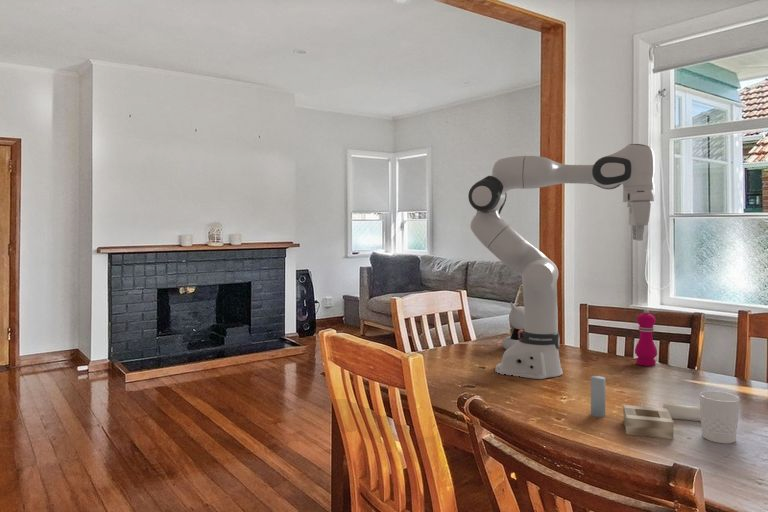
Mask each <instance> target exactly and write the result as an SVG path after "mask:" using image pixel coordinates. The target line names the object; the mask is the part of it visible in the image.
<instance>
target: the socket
mask: <svg viewBox="0 0 768 512" xmlns="http://www.w3.org/2000/svg"><path fill="white" fill-rule="evenodd" d="M622 409H623V410H622V412H623V415H622V417H623V420H622V421H623V424H624V431H625V433H626V435H631V436H639V437H647V438H648V437H650V438H659V439H666V440H667V439H668V440H674V433H675V432H674V428H675V427H674V423H675V422H674V419H672V418H671V416H670V414H669V412H668V410H667V409H665V408H662V407H654V406H653V407H652V406H641V405H629V404H628V405H627V404H623V408H622Z"/></svg>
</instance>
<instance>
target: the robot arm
mask: <svg viewBox="0 0 768 512" xmlns="http://www.w3.org/2000/svg"><path fill="white" fill-rule="evenodd" d="M655 164H656V163H655V154H654V151H653V148H651V147H650V146H649V145H646V144H641V143H629V144H627V145H626V146H625V147H623V148H621V149H620V150H618V151H616V152H614V153H612V154H608V155H606V156H603V157H601V158H599V159H597V160H596V161H595V163H594V164H564V163H561V162H557V161H554V160H552V159H550V158H548V157H544V156H538V155H517V156H507V157H504V158H500V159H498V160H497V161H496V162H495V163H494V165H493V168H492V172H491V175H486V176H485V177H484V178H482V179H480V180H478V181H477V182H475V183H474V184H473V185H472V186H471V187H470V189H469V190H468V202H469V204H470V206H471V207H472V208H473V209H474V210H475V211H476V213H475V215H474V216H473V217H472V220H471V222H470V230H471V232H472V234H473V235H474V236H475V237H476V239H477V240H478V241H479V242H480V243H481V244H482V245H483V246H484V247H485V248H486V249H487V250H488V251H489V252H491V253H492V254H493V256H495V257H496V258H497V259H498V260H499V261H501V262H502V263H503V264H504V265H506V267H508V268H509V269H511V270H512V271H514V272H515V273H516V274H517V275H519V276H520V277H521V278H522V279H521V280H522V281H521V285H522V298H523V307H524V330H522V329H521V330H519V331H518V340H519V341H518V342H517V343H515V344H514V345H512V346H511V347H510V348H508V349H507V350H506V349H505V351H504V352H503V355H502V358H501V362H499V363H498V364H496V365H495V369H494V370H495V373H496V372H497V373H496V374H498V373H500V374H499V375H504V374H506V376H511V375H513V376H512V377H519V376H520V378H527V379H536V380H544V379H547V378H548V379H549V378H556V377H559V376H561V375H563V373H564V371H563V369H562V366H561V361H560V353H559V351H560V350H559V349H560V341H561V339H560V332H559V329H558V328H559V327H558V325H559V319H558V318H559V311H558V310H559V308H558V285H557V284H558V278H559V273H560V272H559V269H558V267H557V265H556V264H555V263H554V262H553V261H552V260H551V259H550V258H548V256H546V255H545V254H544V253H543V252H542V251H540V250H539V249H538V248H536V247H535V246H534V245H532V244H531V243H530V242H529V241H528V240H526V238H525V237H523V236H522V235H521V234H519V232H517V231H516V230H515V229H514V228H513V227H511V225H509V224H508V223H507V222H506V221H505V220H504V219H503V218H502V217H501V216H500V214H501V212H502V210H503V208H504V206H505V204H506V201H507V198H508V197H507V192H508V191H510V190H514V189H520V190H522V189H527V190H528V189H539V188H545V187H550V186H555V185H562V184H587V185H588V184H589V185H594V186H596V187H598V188H600V189H602V190H603V189H604V190H614V189H617V188H618V187H620V186H621V185H622V186H623V189H622V190H623V191H622V203H627V208H628V209H629V211H628V224H629V226H632V227H631V228H632V229H631V232H632V240H635V241H638V242H640V241H643V240H644V232H645V226H648V225H649V221H650V215H651V214H650V213H651V205H652V202H654V201H655V182H654V175H655V169H656V167H655V166H656V165H655Z"/></svg>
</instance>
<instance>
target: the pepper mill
mask: <svg viewBox="0 0 768 512" xmlns="http://www.w3.org/2000/svg"><path fill="white" fill-rule="evenodd" d="M636 322H637V324H638V329H637V330H638V331H639V339H638V342H637V343H636V345H635V347H634V353H635V356H636V358H635V359H636V360H635V361H636V365H638V366H642V365H643V366H644V367H654V366H656V364H657V363H656V361H657V360H656V359H655V358H656V357H657V356H658V350H657V346H656V344H655V342H654V340H653V333H654V332H655V330H654V329H655V327H654V325H655V324H656V317H655V316H654V315H653V314H651V313H650V310H649V309H648V308H644V309H643V313H642V312H641V313H640V314H639V315H637V318H636ZM643 366H642V367H643Z"/></svg>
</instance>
